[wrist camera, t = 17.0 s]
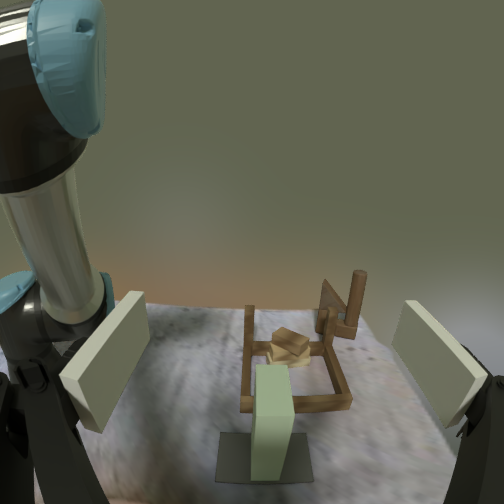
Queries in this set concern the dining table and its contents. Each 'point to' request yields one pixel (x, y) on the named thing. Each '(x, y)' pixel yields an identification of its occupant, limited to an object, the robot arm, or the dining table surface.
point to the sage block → (271, 421)
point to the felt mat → (239, 460)
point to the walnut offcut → (290, 341)
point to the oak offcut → (286, 354)
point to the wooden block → (343, 306)
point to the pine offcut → (288, 362)
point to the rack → (319, 348)
